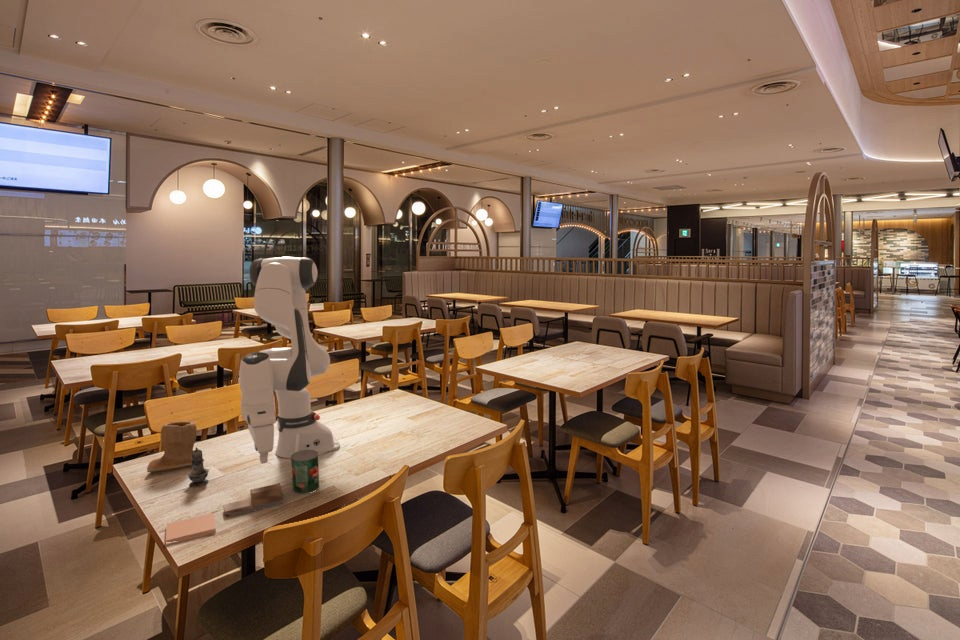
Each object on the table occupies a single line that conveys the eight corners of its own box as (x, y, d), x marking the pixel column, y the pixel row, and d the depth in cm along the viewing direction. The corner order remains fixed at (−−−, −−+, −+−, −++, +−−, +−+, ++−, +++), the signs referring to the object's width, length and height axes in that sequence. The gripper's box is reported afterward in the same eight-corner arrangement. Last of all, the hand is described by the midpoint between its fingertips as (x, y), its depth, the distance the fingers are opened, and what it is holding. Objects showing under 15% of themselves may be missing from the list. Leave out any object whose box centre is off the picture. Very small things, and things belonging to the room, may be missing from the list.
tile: (213, 512, 135) (166, 523, 129) (215, 528, 127) (165, 540, 121) (214, 518, 135) (167, 529, 129) (215, 534, 127) (166, 546, 122)
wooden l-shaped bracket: (279, 494, 146) (279, 482, 146) (282, 500, 142) (281, 487, 142) (223, 508, 138) (222, 494, 138) (225, 515, 134) (224, 501, 134)
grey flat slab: (279, 495, 147) (279, 493, 147) (283, 504, 142) (283, 502, 142) (227, 507, 139) (227, 505, 139) (229, 517, 134) (229, 515, 134)
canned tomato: (321, 490, 150) (320, 456, 149) (294, 496, 146) (293, 461, 145) (316, 480, 157) (315, 447, 156) (290, 485, 153) (289, 452, 152)
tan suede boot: (201, 455, 176) (198, 415, 174) (200, 467, 165) (198, 425, 163) (150, 463, 168) (147, 421, 166) (147, 477, 158) (143, 433, 156)
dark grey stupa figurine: (190, 480, 156) (187, 444, 154) (211, 478, 158) (208, 442, 156) (186, 488, 150) (183, 451, 149) (207, 486, 152) (205, 449, 151)
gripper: (241, 401, 145) (244, 445, 147) (251, 423, 128) (254, 472, 130) (264, 398, 148) (266, 441, 151) (277, 419, 131) (279, 467, 134)
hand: (261, 456), depth 140 cm, fingers open, 8 cm apart
